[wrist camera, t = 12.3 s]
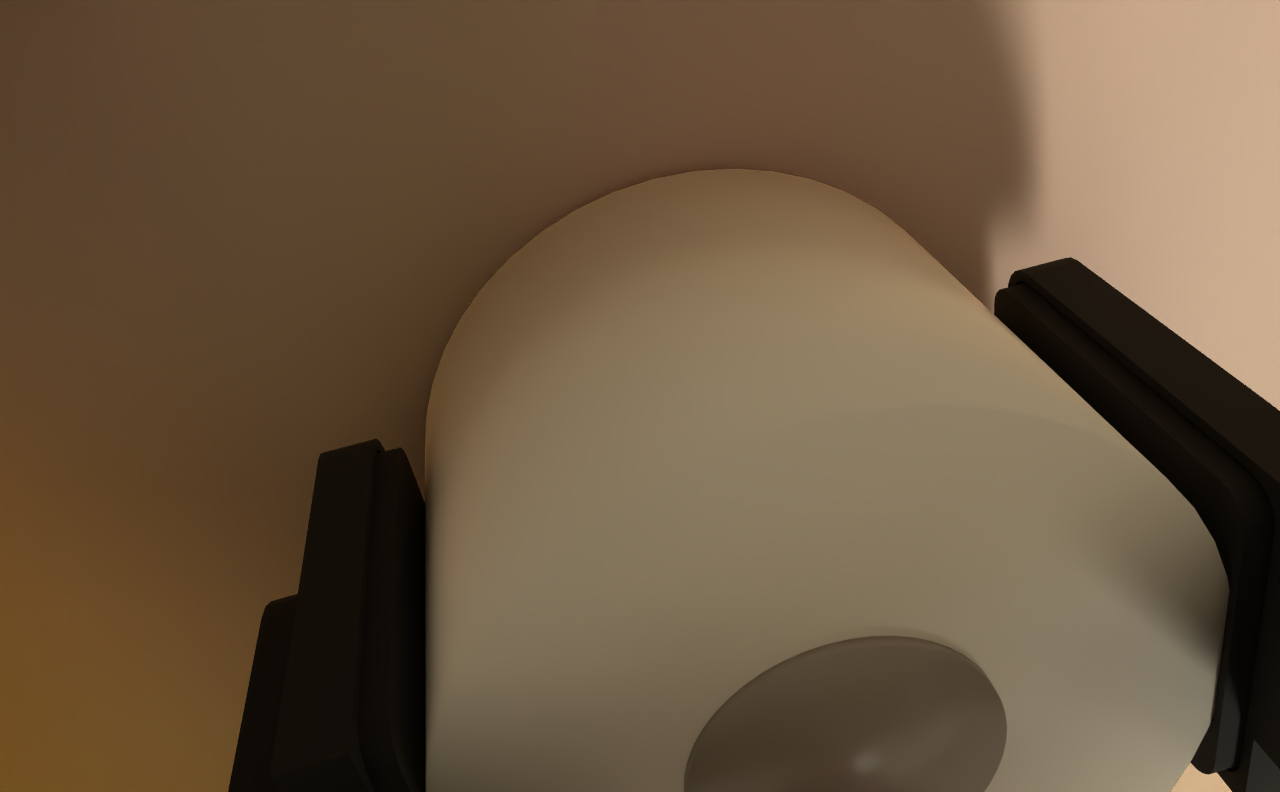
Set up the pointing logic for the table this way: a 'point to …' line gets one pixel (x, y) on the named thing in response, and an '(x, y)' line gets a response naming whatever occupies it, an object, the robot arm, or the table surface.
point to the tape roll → (790, 523)
